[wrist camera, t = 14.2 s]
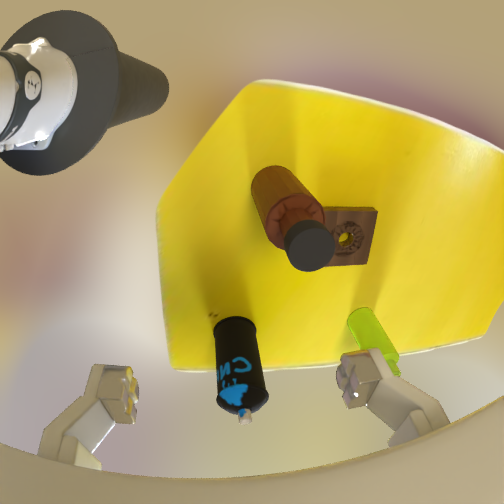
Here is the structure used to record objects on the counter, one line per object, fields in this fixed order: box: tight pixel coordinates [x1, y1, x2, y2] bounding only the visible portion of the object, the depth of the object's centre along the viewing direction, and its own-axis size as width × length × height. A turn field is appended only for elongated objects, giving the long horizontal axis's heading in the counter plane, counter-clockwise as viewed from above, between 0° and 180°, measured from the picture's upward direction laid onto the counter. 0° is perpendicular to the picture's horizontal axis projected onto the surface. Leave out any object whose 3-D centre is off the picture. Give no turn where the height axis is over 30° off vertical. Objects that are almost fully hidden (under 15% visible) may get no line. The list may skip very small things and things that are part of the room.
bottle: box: [251, 166, 326, 250], centre depth 37 cm, size 7×7×17 cm
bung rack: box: [323, 207, 378, 267], centre depth 48 cm, size 10×10×2 cm
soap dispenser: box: [347, 308, 401, 377], centre depth 51 cm, size 6×7×20 cm
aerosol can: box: [214, 317, 269, 425], centre depth 48 cm, size 8×8×20 cm
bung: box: [284, 219, 335, 272], centre depth 29 cm, size 5×5×4 cm
